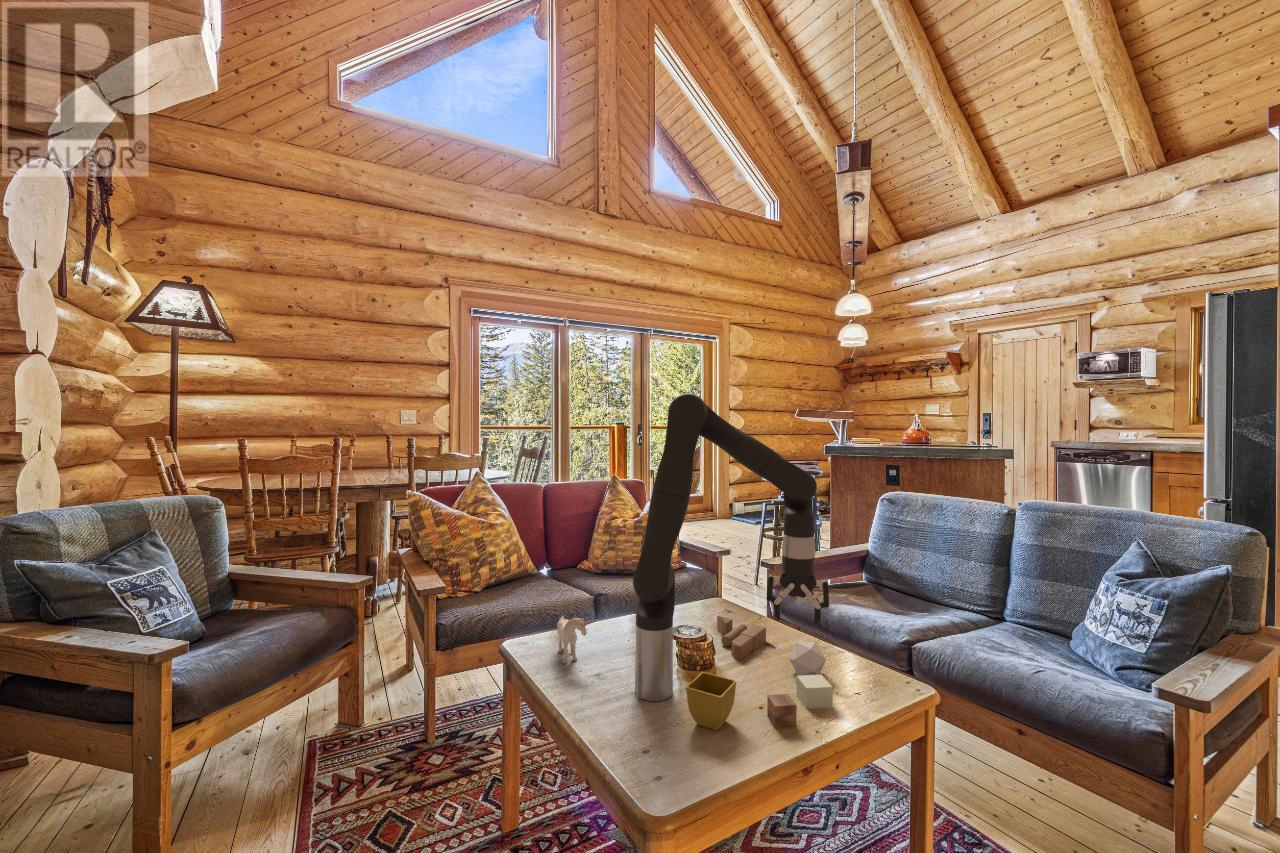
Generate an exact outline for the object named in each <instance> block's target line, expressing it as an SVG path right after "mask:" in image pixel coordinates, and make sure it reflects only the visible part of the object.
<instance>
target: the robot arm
mask: <svg viewBox="0 0 1280 853" xmlns="http://www.w3.org/2000/svg"><path fill="white" fill-rule="evenodd" d="M667 411H668V412H667V422H666V432H665V442H664V447H663V452H662V455H661V458H660V461H659V464H658V468H657V472H656V475H655V479H654V482H653V486H652V490H651V496H650V500H649V507H648V513H647V519H646V526H645V534H644V541H643V546H642V549H641V552H640V556H639V558H638V562H637V565H636V568H635V571H634V574H633V577H632V586H633V589H634V593H635V594H636V595H637V597H638V606H637V609H636V613H635V650H634V690H635V695H636V699H637V700H644V701H649V702H660V701H661V702H662V701H665V700H667V699H670V698H671V697H672V696H673V694H674V612H675V608H676V607H675V606H676V605H675V603H676V602H675V600H676V575H675V570H674V568H673V565H672V564H671V563H672V558H673V557H672V556H673V551H674V547H675V545H676V542H677V539H678V537H679V535H680V532H681V530H682V527H683V524H684V520H685V518H686V515H687V512H688V511H687V510H688V507H689V503H690V498H691V492H692V486H693V485H692V484H693V475H694V460H695V459H694V458H695V452H696V447H697V444H698V442H699V437H702V438H704V439H706V440H708V441H709V442H711V443H713V444H715V445H716V447H718V448H720V450H723V451H724V452H725V453H726V454H727V455H728V456H730V457H731V458H733V459H734V460H735V461H736V462H737V463H739V464H741V465H742V466H743V467H745V468H747V469H748V470H749V471H751V472H753V473H754V474H755V475H757V476H759V477H761V478H762V479H764V480H765V481H768V482H769V483H771V484H772V485H773V486H774V487H776V488H777V489H778V490H780V491H781V492H782V493H783V506H784V507H783V508H784V515H783V516H784V517H783V536H782V543H781V544H782V546H781V575H780V576H777V575H774V574H773V573H770V574H769V575H768V577H767V588H766V589H767V590H766V600H767V602H771V603H773V609H774V610H773V611H774V612H773V613H774V614H773V615H774V618H776V620H778V621H780V620H781V614H782V613H781V612H782V611H781V610H782V608H781V607H782V606H781V605H782V604H781V603H782V601H783V600H784V599H785V598H786V597H787V596H788V595H789V596H790V597H799V598H800V599H801V598H803V599H805V598H808V599H809V601H810V602H811V603H812V604H813V606H814V614H813V615H814V619H813V621H814V622H813V623H814V626H815V625H816V626H817V625H818V623H820V622H821V620H822V619H821V618H822V617H821V615H822V613H821V610H822V609H824V608H827V609H828V608H829V606H830V593H829V580H828V579H826V578H825V579H823V580H816V578H815V571H816V570H815V565H816V564H815V563H816V541H815V515H814V512H813V497H814V496H815V495H816V494H817V489H818V484H817V481H816V479H815V477H814V476H813V475H812V474H811V473H809V472H808V471H807V470H805V469H802V468H800V467H799V466H797V465H796V464H794V463H792V462H791V461H788V459H785V458H784V457H783V456H782V455H781V454H779V453H778V452H776V450H774V449H772V448H771V447H769V446H767V445H766V444H764V443H762V442H761V441H760V440H759V439H756V438H755V437H753V436H751V435H749V434H748V433H745V432H744V431H743V430H741V429H739V428H737V427H736V426H734V425H732V424H731V423H729V422H728V421H727V420H725V419H724V418H722V417H721V416H720V415H719V414H717V413H716V412H715V411H714V410H713V409H712V408H711V407H710V406H708V405H707V404H706V402H705V400H703V398H701V397H700V396H698V395H696V394H693V393H682V394H679V395H677V396H676V397H675V398H673V400H671V402H670V404H669V406H668V410H667ZM778 582H779V583H780V585H781V586H782V589H781V590H780V591H779V592H778V594H777V595H774V586H777V584H778ZM816 587H819V590H820V591H822V596H823V600H820V599H819V598H818V597H817V595H816V594H815V592H814V589H815V588H816Z"/></svg>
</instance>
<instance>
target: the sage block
mask: <svg viewBox="0 0 1280 853" xmlns="http://www.w3.org/2000/svg"><path fill="white" fill-rule="evenodd" d="M795 682H796V691H795V692H796V697H797V698H798V700H799V701H800V702H801V703H802V705H803V706H804V707H805V709H823V708H824V709H825V708H833V700H834V698H833V697H834V696H833V694H834V693H833V692H834V691H833V690H834V686H832V684H831V683H830V682H829V681H828V680H827V678H825V676H823V675H822V674H820V675H801V676H798V675H796V681H795Z"/></svg>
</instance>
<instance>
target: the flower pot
mask: <svg viewBox="0 0 1280 853" xmlns="http://www.w3.org/2000/svg"><path fill="white" fill-rule="evenodd" d="M736 688H737V680H734V679H732V678H728V677H725V676H720V675H717V674H713V673H709V672H706V671H705V672H704V671H702V672H700V673H699V674H698V675H697V676H696V677H695V678H694V679H693V680H692V681H690V682H689V683H688V684H687V685H686V687H685V690H686V691H685V692H686V699H687V706H688V710H689V712H690V715H691V718H692V719H693V721H694V722H695V723H696V724H697V725H699V726H701V727H702V726H703V727H705V728H708V729H712V730H714V731H718V730H719V729H720V728H721V726H723V724H725V722H726V721H727V719H728V717H729V715H730V714H731V711H732V709H733V706H734V702H735V696H736Z"/></svg>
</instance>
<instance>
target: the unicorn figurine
mask: <svg viewBox="0 0 1280 853" xmlns="http://www.w3.org/2000/svg"><path fill="white" fill-rule="evenodd" d="M584 618H585V617H583V618H580V617H573V618H571V619H565V616H564V615H562V616H561V617H560V618H559V619H558V622H557V624H556V626H557V634H558V645H557V647H558V654H563V653H564V655H562V664H567V662H568V652H569V650H568V645H570V652H571V655H572V661H573V662H577V661H578V658H577V655H576V648H577V647H576V644H577V641H578V634H577V632H576V630H577V631H579V632H580V633H581V635H582V636H583V637H584V636H585V637H586V635H587V634H588V633H587V632H588V631H587V628H586V626H588V625H590V624H593V623H596V622H599V619H593V620H590V621H587V622H585V621H584Z"/></svg>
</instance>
